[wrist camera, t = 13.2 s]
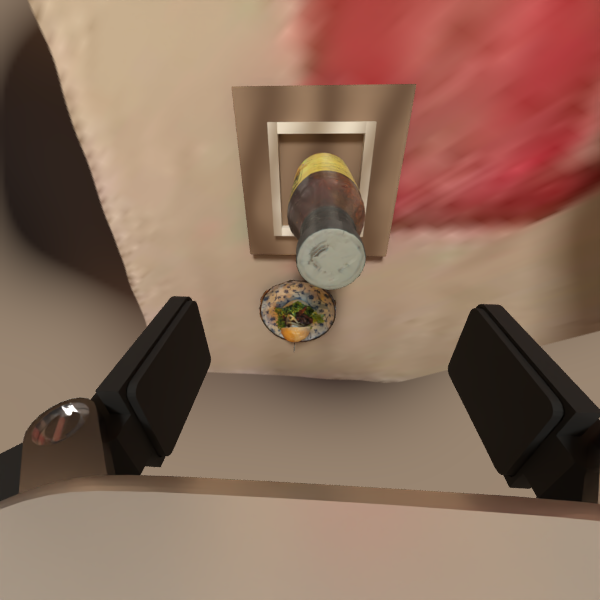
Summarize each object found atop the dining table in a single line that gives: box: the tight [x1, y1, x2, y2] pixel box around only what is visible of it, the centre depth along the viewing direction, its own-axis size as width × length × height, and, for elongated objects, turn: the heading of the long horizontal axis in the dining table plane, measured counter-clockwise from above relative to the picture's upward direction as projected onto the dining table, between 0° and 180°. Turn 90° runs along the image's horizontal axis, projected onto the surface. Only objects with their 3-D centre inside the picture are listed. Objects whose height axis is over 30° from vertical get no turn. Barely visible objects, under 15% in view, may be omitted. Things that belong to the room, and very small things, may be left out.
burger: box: [260, 280, 336, 350], centre depth 41 cm, size 12×12×8 cm
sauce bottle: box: [287, 153, 366, 290], centre depth 24 cm, size 7×6×20 cm
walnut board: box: [232, 84, 416, 256], centre depth 32 cm, size 18×18×2 cm
